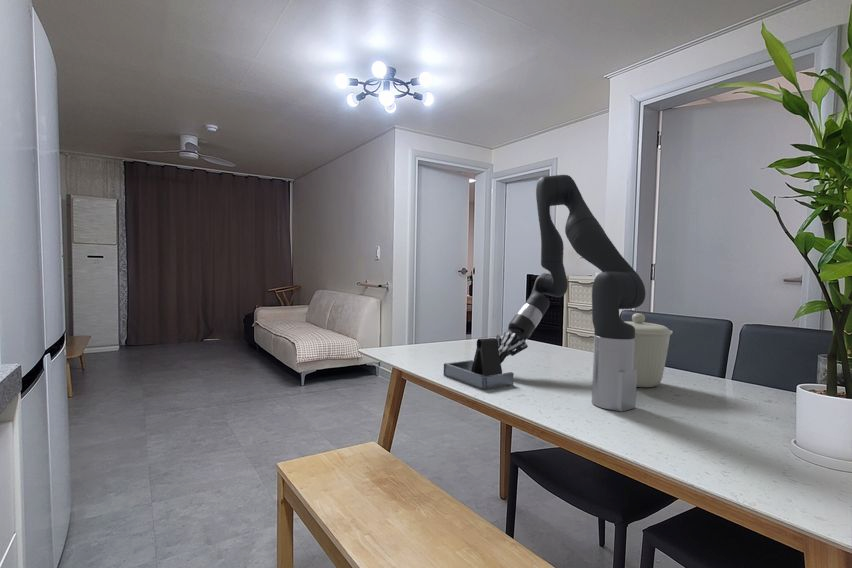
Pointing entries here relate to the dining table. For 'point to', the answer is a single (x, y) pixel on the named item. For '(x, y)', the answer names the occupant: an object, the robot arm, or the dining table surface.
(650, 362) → the canister
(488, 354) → the black folding stand
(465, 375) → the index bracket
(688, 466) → the dining table surface
